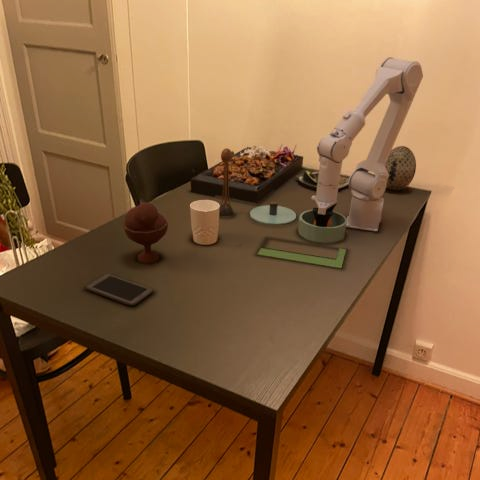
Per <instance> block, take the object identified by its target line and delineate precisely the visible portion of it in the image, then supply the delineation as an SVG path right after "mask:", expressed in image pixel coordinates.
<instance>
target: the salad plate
mask: <svg viewBox="0 0 480 480" xmlns="http://www.w3.org/2000/svg"><path fill="white" fill-rule="evenodd" d="M318 175H319V171H313V172H310V170H305V171H304V172H303V174H297V175H296V174H295V176H294V177H295V178H297V179H298V181H299V184H300V185H301V186H302V187H304V188H307V189H308V190H312V191H315V192H317V184H318ZM348 183H349V177H348V178H347V177H342V176H340V180H339V187H338V191H340V190H342V189H344V188H346V187H347V186H349V184H348Z"/></svg>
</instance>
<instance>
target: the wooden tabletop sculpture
mask: <svg viewBox="0 0 480 480" xmlns="http://www.w3.org/2000/svg"><path fill="white" fill-rule="evenodd" d="M234 154H235V151H233V150H231V149H230V148H228V147H227V148H224V149H222V151H221V153H220V160H221V162H222V161H223V162H225V165H224V175H223V195H222V196H221V202H220V210H219V217H232V216H233V215H234V210H233V207H232V206H231V201H230V198H229V165H228V162H229V161H230V160H231V157H232V155H234ZM224 184H225V197H224ZM227 190H228V198H227ZM223 201H224V202H223Z"/></svg>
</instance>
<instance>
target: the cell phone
mask: <svg viewBox="0 0 480 480" xmlns="http://www.w3.org/2000/svg"><path fill="white" fill-rule="evenodd" d="M85 288H86V290H87V291H89V292H92V293H94V294H97V295H99V296H103V297H105V298H108V299H109V300H112V301H116V302H118V303H121V304H124V305H126V306H129V307H134V306H136V305H137V304H139V303H140V302H141V301H143V300H145V299H146V298H148V297H149V296H150V295H152V294H153V289H152V288H150V287H147V286H145V285H142V284H139V283H136V282H133V281H131V280H128V279H124V278H122V277H119V276H117V275H113V274H110V273H106V274H104V275H102V276H100V277H99V278H97V279H96V280H94V281H92V282H90V283H89V284H87V285H86V287H85Z"/></svg>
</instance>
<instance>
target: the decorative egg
mask: <svg viewBox="0 0 480 480" xmlns="http://www.w3.org/2000/svg"><path fill="white" fill-rule="evenodd" d="M415 156H416V155H415V154H414V152H413V151H412V150H411V148H409V147H407V146H405V145H398V146H396V147H394V148H392V150H391V152H390V154H389V157H388V159H387V161H386V164H385V168H386V170H387V172H388V174H389V177H388V179H387V183H386V189H388V190H390V191H396V192H397V191H401V190H403V189H405V188H407V187H408V186H409V185H410V184H411V183H412V181H413V180H414V178H415V175H416V170H417V160H416V157H415Z"/></svg>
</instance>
